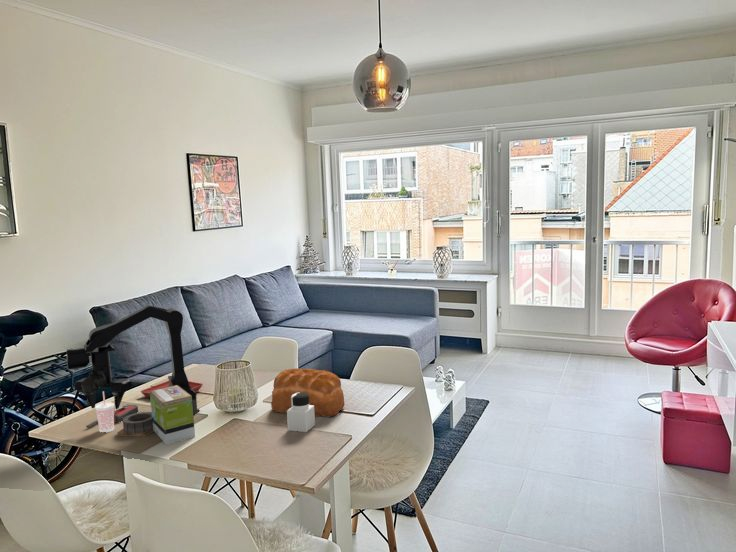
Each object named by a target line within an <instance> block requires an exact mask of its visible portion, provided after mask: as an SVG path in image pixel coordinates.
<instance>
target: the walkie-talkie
mask: <svg viewBox="0 0 736 552" xmlns="http://www.w3.org/2000/svg"><path fill="white" fill-rule="evenodd" d="M137 412H138V413H139V406H138V405H137V404H123V405H122V406H119V408H118V409H116V408H115V407H114V424H116V422H118V424H119V422H121V421H122V422H123V418H125V417H126V416H129V415H131V414H134V413H137ZM122 422H121V423H122ZM97 424H98V419H96V420H94V421H93V422H91V423H89V424H88V425H85V427H86V428H87V429H89V428H91V427H94V425H97Z"/></svg>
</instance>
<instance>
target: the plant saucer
mask: <svg viewBox="0 0 736 552" xmlns="http://www.w3.org/2000/svg"><path fill="white" fill-rule="evenodd" d="M188 382H189V385H190V387H191V388H192V389H193V390H194V391H195V392H196V393H197V392H199V391H200V389H201V388H202V387H203V385H204V383H200V382H195V381H189V380H188ZM167 387H169V380H166V381H164V382H161V383H159V384H155V385H153V386H151V387H148V388H145V389H141V390H140V393H141V394H142V395H143V396H145V397H146V398H149V397H150V391H154V390H158V389H163V388H167Z"/></svg>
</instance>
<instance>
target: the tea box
mask: <svg viewBox="0 0 736 552" xmlns="http://www.w3.org/2000/svg"><path fill="white" fill-rule="evenodd" d="M149 399H150V408H151V412H152V420H153V430H154V431H153V432H154V433H155V434H156V435H157V436H158V437H159V438H160V440H162V441H163V443H164V444H165V445H167V446H168V445H171V444H174V443H178V442H181V441H185V440H189V439H192V438H195V437H196V430H195V419H194V415H193V405H192V396H191V395H190V394H188V393H187V392H186V391H184V390H183V389H182V388H180V387H179V386H178V385H176V386H171V387H167V388H163V389H158V390H154V391H150V398H149Z"/></svg>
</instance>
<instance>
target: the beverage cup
mask: <svg viewBox="0 0 736 552" xmlns="http://www.w3.org/2000/svg"><path fill="white" fill-rule="evenodd" d="M102 398H103V399H102V401H103V402H102V403H98V404H95V408H94V409H95V412H96V417H97V420H98V423H97V424H98V430H99V433H101V432H106V433H110V432H112V431H114V430H115V423H114V409H115V402H110V401H108V402H106V396H105V391H103V390H102Z"/></svg>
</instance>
